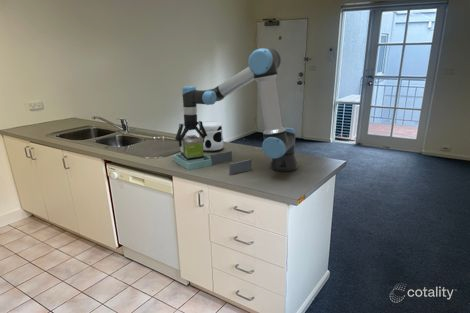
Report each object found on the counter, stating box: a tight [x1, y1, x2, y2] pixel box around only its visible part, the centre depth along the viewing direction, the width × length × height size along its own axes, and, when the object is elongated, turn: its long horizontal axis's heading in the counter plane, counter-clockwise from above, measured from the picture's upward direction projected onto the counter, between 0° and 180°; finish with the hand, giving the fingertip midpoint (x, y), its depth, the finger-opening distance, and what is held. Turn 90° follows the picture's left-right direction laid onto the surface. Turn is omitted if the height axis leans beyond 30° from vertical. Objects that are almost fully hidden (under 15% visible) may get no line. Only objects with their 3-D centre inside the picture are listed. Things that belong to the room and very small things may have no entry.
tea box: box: [180, 134, 205, 163], centre depth 190 cm, size 15×10×15 cm, turn 25°
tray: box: [172, 153, 213, 171], centre depth 192 cm, size 21×16×4 cm
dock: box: [210, 150, 253, 176], centre depth 184 cm, size 21×14×6 cm, turn 34°
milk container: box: [198, 121, 225, 153], centre depth 217 cm, size 17×17×18 cm
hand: (192, 150), depth 191 cm, fingers open, 12 cm apart
